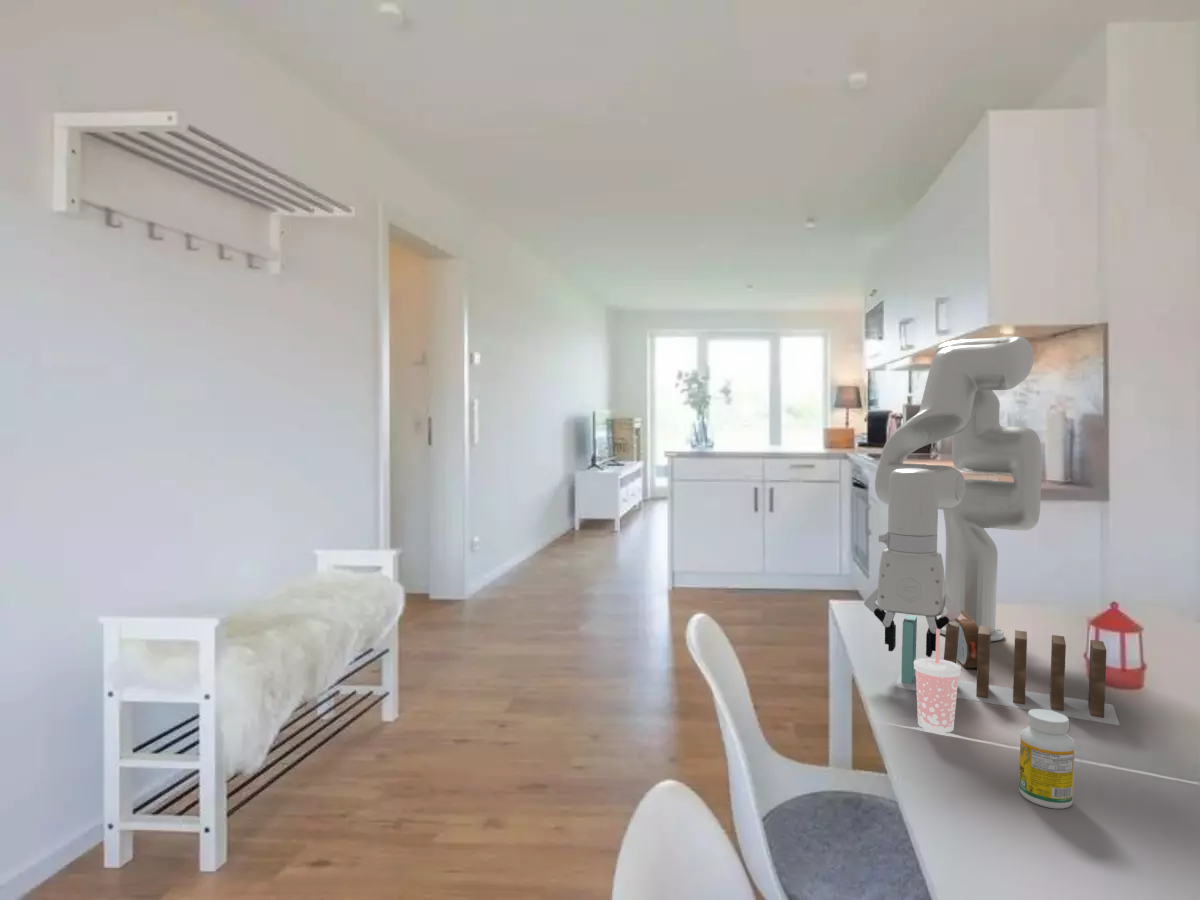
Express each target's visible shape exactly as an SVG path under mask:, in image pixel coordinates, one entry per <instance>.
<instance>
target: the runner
mask: <svg viewBox="0 0 1200 900" xmlns="http://www.w3.org/2000/svg"><path fill="white" fill-rule="evenodd" d="M901 674H902V672H901V673H900V675H899V677H898V679H897V681H896V682H895V685H894V688H897V689H903V690H904V689H905V690H910V691H916V692H917V690H916V672H915V677H914V680H913V682H912V684H910V683H904V682H901ZM976 689H977V682H973V681H967V680H961V679H958V687H957V698H956V699H962V700H963V699H964V700H969V701H974V702H980V703H986V704H991V705H998V706H1003V707H1009V708H1016V709H1021V710H1027V711H1029V710H1032V709H1045V710H1050V711H1054V712H1058V713H1060V714H1063V715H1065V716H1066V717H1067V718H1075V719H1078V720H1085V721H1091V722H1097V723H1102V724H1107V725H1114V726H1120V721H1119V719H1118V717H1117V713H1116V710H1115V707H1114V704H1110V703H1105V705H1104V718H1101V717H1095V716H1091V714H1090V710H1089V706H1088V700H1084V699H1079V698H1073V697H1066V696H1064V711H1059V710H1053V709H1051V704H1050V693H1043V692H1035V691H1031V690H1030V691H1029V690H1025V705H1024V704H1018V703H1013V688H1010V687H1004V686H998V685H992V684H989V693H988V698H982V697H976Z"/></svg>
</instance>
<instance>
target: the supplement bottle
mask: <svg viewBox="0 0 1200 900" xmlns="http://www.w3.org/2000/svg"><path fill="white" fill-rule="evenodd" d="M1027 711H1028V712H1027V720H1026V721H1027V724H1028V725H1029V726H1027V727H1025V728H1023V729H1022V731H1021V733H1020V745H1019V747H1020V749H1019V777H1018V780H1019V781H1018V791H1019V793H1020V794H1021V795H1022V797H1023V798H1025V800H1028V801H1029V802H1031V803H1033V804H1035V805H1038V806H1041V807H1045V808H1048V809H1054V810H1055V809H1056V810H1058V809H1066V808H1070V807H1071V806H1072V805H1073V802H1074V783H1075V782H1074V780H1075V754H1076V745H1075V741H1074V739H1073V738H1072V737H1071V736H1070V735H1069V734H1068V731H1069V730H1070V727H1069V725H1070V724H1069V721H1070V719H1069V717H1067V716H1065V715H1063V714H1060V713H1058V712H1054V711H1050V710H1045V709H1032V710H1027Z"/></svg>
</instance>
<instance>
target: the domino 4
mask: <svg viewBox="0 0 1200 900" xmlns="http://www.w3.org/2000/svg"><path fill="white" fill-rule="evenodd" d="M1027 647H1028V633H1027V631H1025V630H1024V631H1023V630H1017V629H1015V631H1014V651H1013V653H1014V655H1013V656H1014V657H1013V658H1014V659H1013V686H1012V687H1013V688H1012V689H1013V703H1018V704H1024V705H1025V691H1026V683H1027V679H1026V678H1027V650H1028V648H1027Z"/></svg>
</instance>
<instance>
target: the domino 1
mask: <svg viewBox="0 0 1200 900" xmlns="http://www.w3.org/2000/svg"><path fill="white" fill-rule="evenodd" d="M917 619H918V615H910V614H906V616H905V618H904V619H903V621H902V634H901V635H902V642H901V673H902V674H901V673H900V675H901V682H904V683H910V684H912V682H913V680H914V677H915V673H916V670H915V669H914V660H916V659H917V633H918V632H917V630H918V629H917V625H918V620H917Z"/></svg>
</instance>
